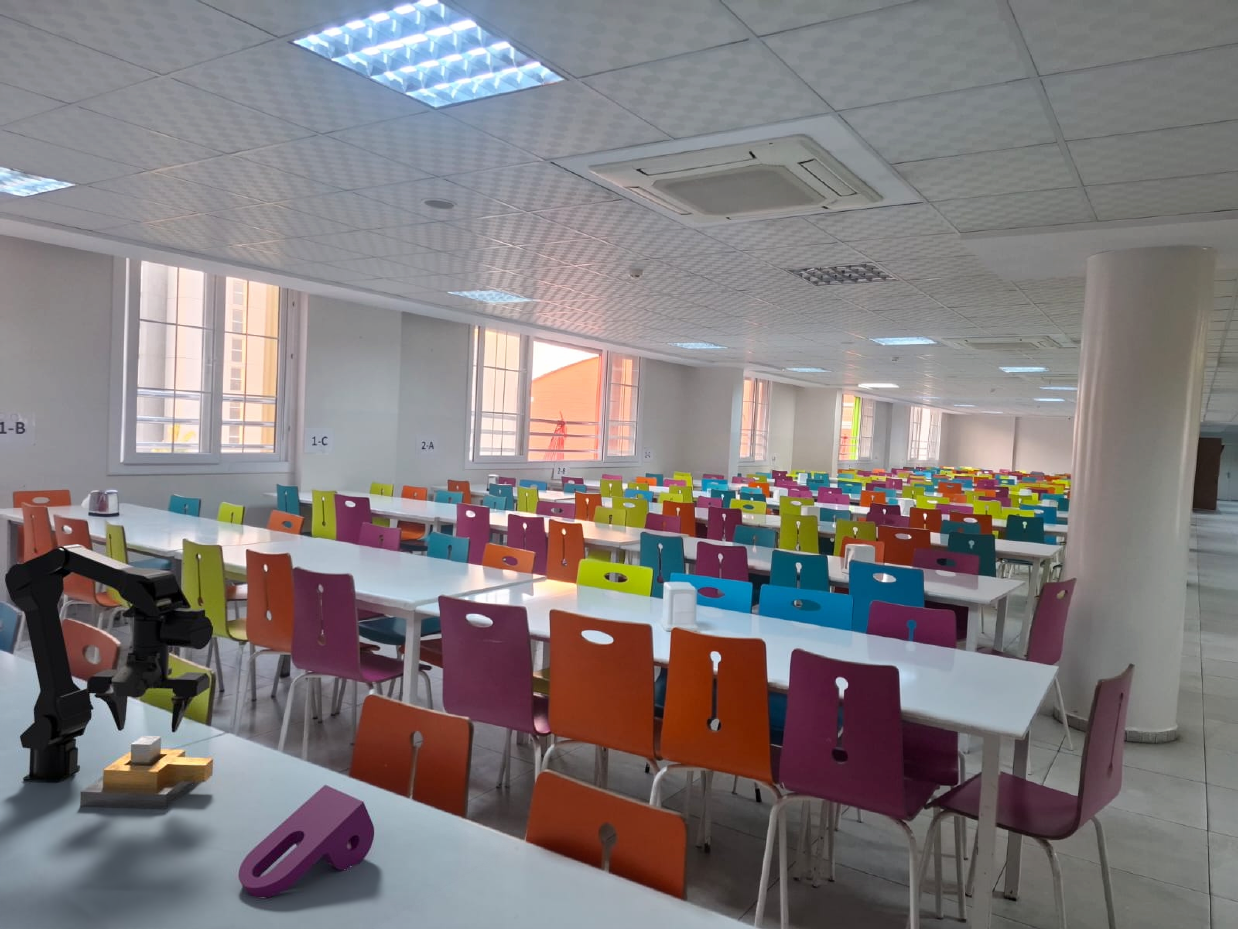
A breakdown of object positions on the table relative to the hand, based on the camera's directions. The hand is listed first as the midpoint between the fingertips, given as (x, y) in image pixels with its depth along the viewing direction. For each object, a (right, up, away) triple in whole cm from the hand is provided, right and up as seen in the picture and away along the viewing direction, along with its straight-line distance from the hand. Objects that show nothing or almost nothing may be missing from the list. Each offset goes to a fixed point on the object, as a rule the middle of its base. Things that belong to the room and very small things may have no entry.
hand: (147, 731), depth 146 cm
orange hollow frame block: (+1, -11, 0) cm, 11 cm away
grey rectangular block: (-1, -11, 0) cm, 11 cm away
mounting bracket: (+36, -14, -23) cm, 45 cm away
